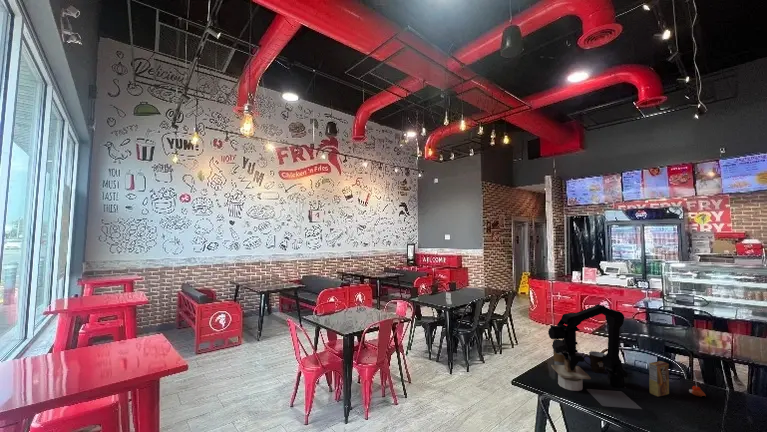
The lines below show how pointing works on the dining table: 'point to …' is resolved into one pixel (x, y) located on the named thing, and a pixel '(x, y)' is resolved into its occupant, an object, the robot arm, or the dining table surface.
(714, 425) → the dining table surface
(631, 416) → the dining table surface
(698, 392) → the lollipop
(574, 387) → the bowl
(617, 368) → the robot arm
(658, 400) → the dining table surface
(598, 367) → the coffee mug
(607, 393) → the mat
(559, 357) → the coffee cup
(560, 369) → the cover tile
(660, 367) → the candy box
